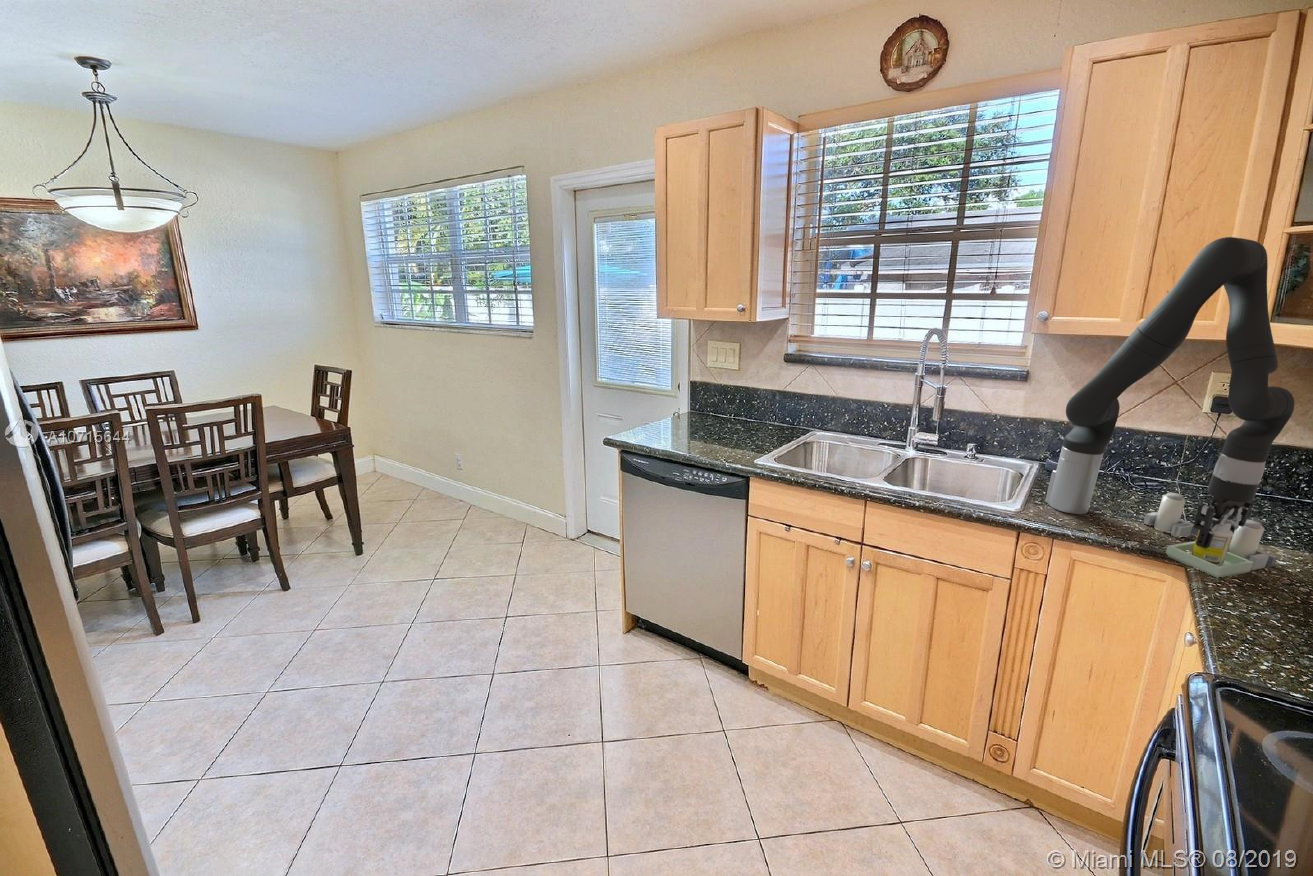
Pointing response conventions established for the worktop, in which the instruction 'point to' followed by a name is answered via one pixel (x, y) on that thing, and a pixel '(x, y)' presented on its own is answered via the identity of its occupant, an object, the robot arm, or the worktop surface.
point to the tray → (1228, 568)
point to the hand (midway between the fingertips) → (1212, 544)
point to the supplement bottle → (1216, 545)
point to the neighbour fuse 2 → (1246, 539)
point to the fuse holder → (1186, 528)
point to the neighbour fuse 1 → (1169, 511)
